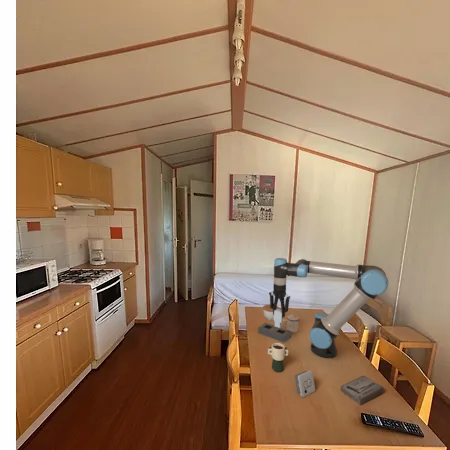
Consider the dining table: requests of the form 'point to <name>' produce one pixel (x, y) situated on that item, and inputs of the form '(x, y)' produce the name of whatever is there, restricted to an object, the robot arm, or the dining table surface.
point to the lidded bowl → (268, 312)
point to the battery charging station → (274, 332)
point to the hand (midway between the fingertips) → (278, 321)
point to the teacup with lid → (292, 323)
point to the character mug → (278, 356)
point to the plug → (278, 318)
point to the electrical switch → (305, 383)
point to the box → (362, 389)
